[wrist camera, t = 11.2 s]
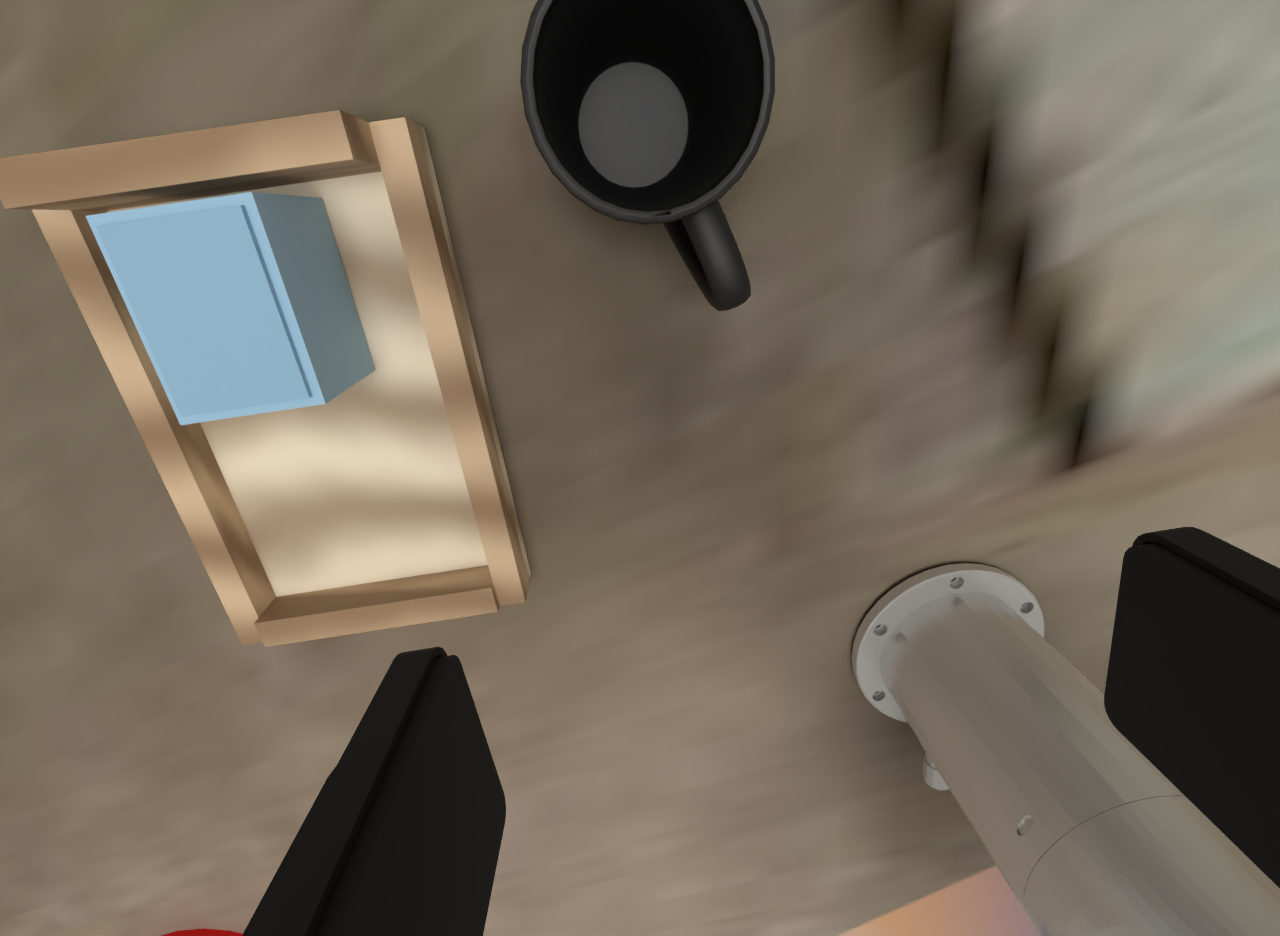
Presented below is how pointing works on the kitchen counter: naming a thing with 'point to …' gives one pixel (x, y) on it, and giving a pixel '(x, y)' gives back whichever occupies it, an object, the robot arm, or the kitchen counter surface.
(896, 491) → the kitchen counter surface
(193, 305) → the light blue block
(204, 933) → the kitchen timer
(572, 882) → the kitchen counter surface
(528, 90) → the mug
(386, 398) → the tray
